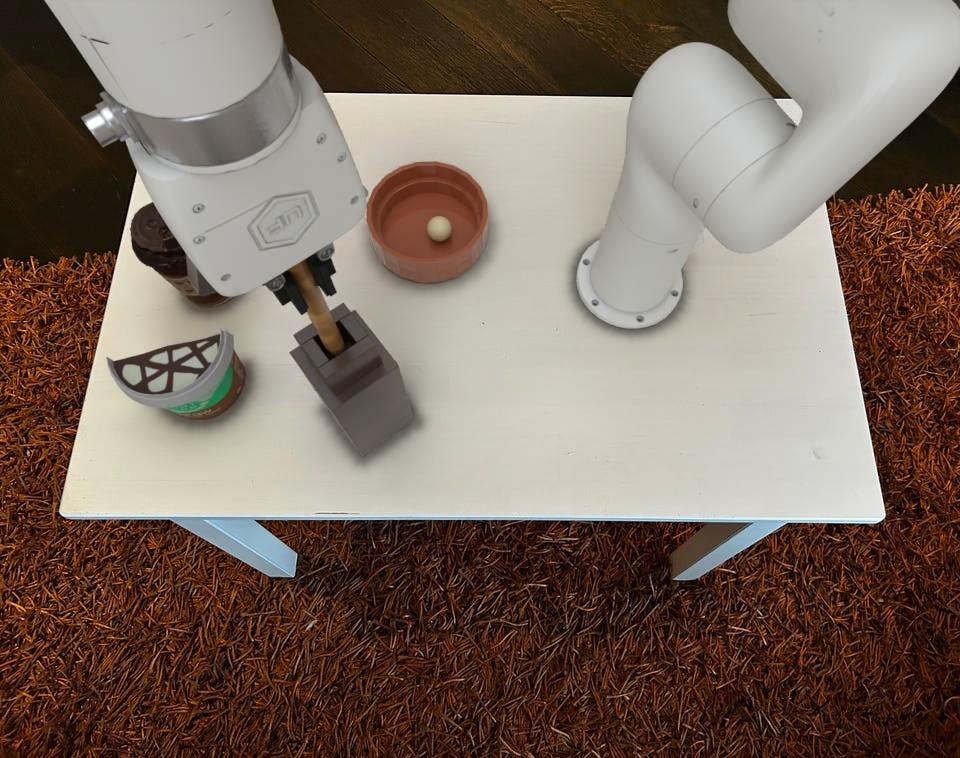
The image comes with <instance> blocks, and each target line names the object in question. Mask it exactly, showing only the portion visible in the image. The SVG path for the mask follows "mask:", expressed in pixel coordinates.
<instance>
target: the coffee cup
mask: <svg viewBox="0 0 960 758" xmlns="http://www.w3.org/2000/svg"><path fill="white" fill-rule="evenodd" d="M129 231H130V242H131V249H132V251H133V253H134V255H135V257H136V258H137V259H138V261H139V262H140V263H142V264H143V265H145V266H146V267H149V268H152V270H153V271H154V272H156V273H157V274H159V275H160V277H162V278H163V279H164V280H165V281H166V282H168V283H169V284H171V286H173V288H175V289H176V290H177V291H179V292H180V293H181V294H182V295H185V297H186V298H187V299H188V301H190V302H191V303H193V304H194V305H197V306H199V307H206V308H210V307H216V306H218V305H219V306H220V305H223V304H225V303H226V302H228V301H229V300H231V299H232V298H233V297H234V296H223V295H221V294H219V293H218V292H215V293H212V294H209V295H206V296H200V295H199V294H198V293H197V291H196V290H195V288H194V287H193V285H192V284H191V283H190V281H189V279H188V272H187V262H186V253H185V251H184V250H183V248H182V247H181V245H180V244H179V242H178V241H177V239H176V238H175V236H174V235H173V233H172V232H171V231H170V229H169V228H168V226H167V224H166V223H165V221H164V220H163V218H162V216H161V215H160V213H159V211H158V210H157V208H156V206H155V205H154V203H153V201H152V202H150V203H147V204H146V205H143V206H142V207H140V209H138V210H137V211H136V212H135V213H134V214H133V217H132V219H131V222H130V228H129Z"/></svg>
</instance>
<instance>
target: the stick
mask: <svg viewBox="0 0 960 758" xmlns="http://www.w3.org/2000/svg"><path fill="white" fill-rule="evenodd" d="M287 271H288V272H289V274H290V275H291V276H292V278H293V279H294V280H295V282H296V283H297V285H298V287H299V289H300V291H301V293H302V295H303V297H304V299H305V301H306V303H307V305H308V307H309V309H307V310H308V312H306V314H307V316H308V318H309V320H310V323H313V325H314V327H315V329H316V331H317V333H318V335H319V337H320V339H321V341H322V343H323V344H324V346H325V348H326V350H327V352H328V353H329V354H330V355H332V356H338V355H339V354H341V353H342V352H344V350H345V343H344V341H343V339H342V337H341V334H340V332H339V330H338V328H337V326H336V323H335V321H334V319H333V317H332V314H331V312H330V311H331V309H330V307H329V306H328V303H327V301H326V298H325V297H324V294H323V291H322V289H321V288H320V287H319V286H318V284H317V282H316V279H315V277H314V275H313V273H312V270H311V268H310V266H309V264H308V262H307V259H304V260H303V261H301V262H300V263H298V264H296V265H295V266H293V267H291V268H290V269H288V270H287Z"/></svg>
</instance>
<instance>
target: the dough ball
mask: <svg viewBox="0 0 960 758" xmlns="http://www.w3.org/2000/svg"><path fill="white" fill-rule="evenodd" d="M427 232H428V235H429V236H430V237H431V238H432V239H433V240H435V241H439V242H440V241H444V240H446V239H448V238H449V236H450V235H451V232H452V226H451V223H450V221H449V220H448V219H447V218H445V217H442V216H436V217H434V218H432V219H431V220H430V221H429V223H428V225H427Z"/></svg>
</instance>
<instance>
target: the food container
mask: <svg viewBox="0 0 960 758" xmlns="http://www.w3.org/2000/svg"><path fill="white" fill-rule="evenodd" d="M219 332H220V333H218V334H213V335H211V336H208V337H204V338H200V339H196V340H190V341H185V342H180V343H175V344H171V345H170V344H169V345H166V346H162V347H159V348H155V349H153V350H150V351H147V352H143V353H140V354H136V355H132V356H129V357H125V358H121V359H116V360H113V359H112V358H110V357H108V356H106V357H105V359H106V363H107V368H108V371H109V373H110V376H111V377H112V379H113V381H114V383H116V385H117V386H118V388H119V389H120V390H121V392H123V393H124V395H125V396H127V397H128V398H130V399H131V400H132V401H134V402H136V403H138V404H140V405H143V406H146V407H149V408H150V407H151V408H157V409H158V408H159V409H165V410H167V411H169V412H171V413H172V414H175V415H177V416H179V417H181V418H185V419H187V420H191V421H207V420H211V419H213V418H216V417H218V416H220V415H222V414H224V413H225V412H226V411H228V410H229V409H231V408H232V406H233V405H234V404H235V403H236V402H237V401H238V399H239V398H240V395H241V394H242V392H243V389H244V386H245V383H246V369H245V368H246V367H245V366H244V365H243V362H242V361H241V359H240V358H239V356H238V354H237V352H236V350H235V349H234V347H235V345H234V344H235V340H234V338H235V337H234V335H233V334H232V333H230V332H229V331H228V330H226V329H225V330H224V329H223V328H221V327H219Z"/></svg>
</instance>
